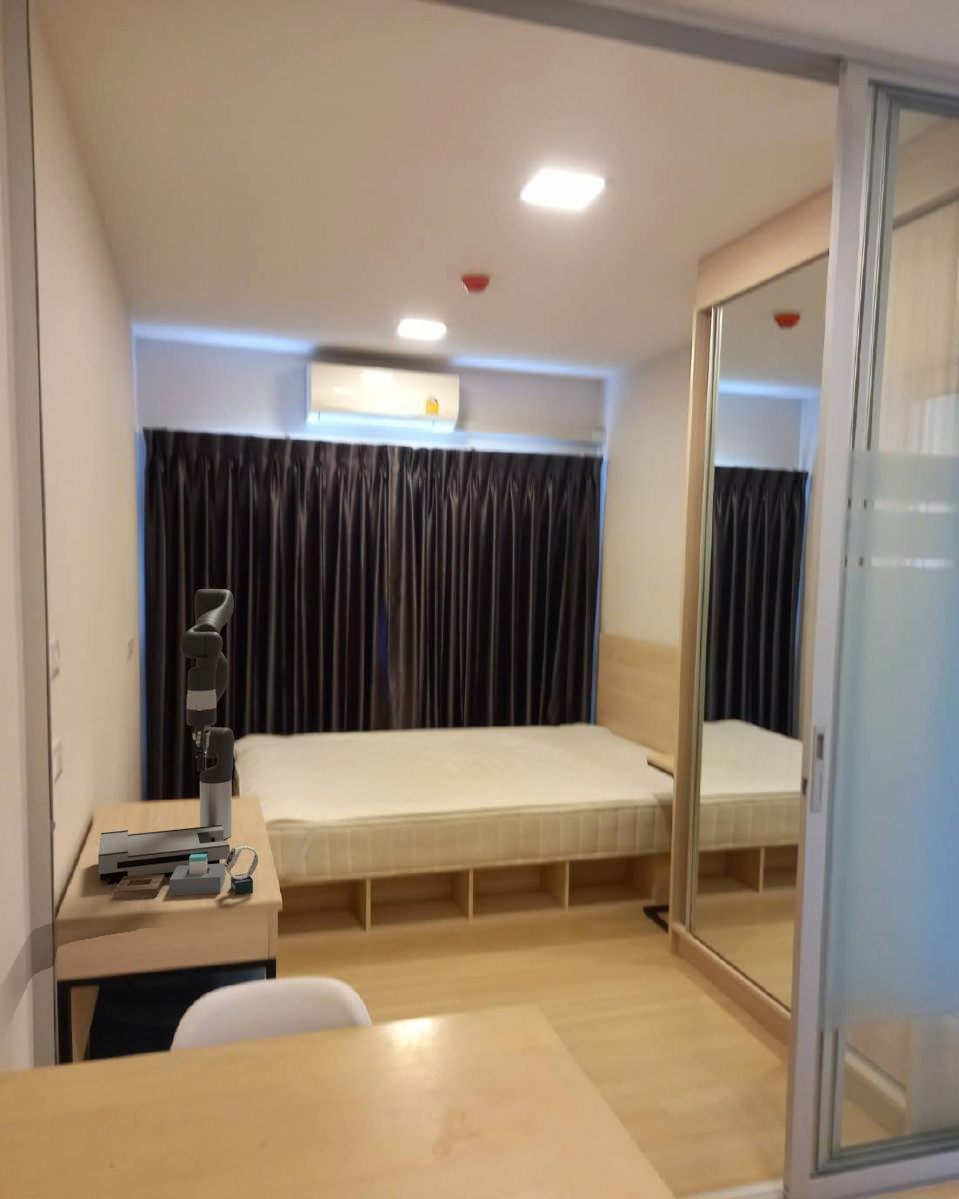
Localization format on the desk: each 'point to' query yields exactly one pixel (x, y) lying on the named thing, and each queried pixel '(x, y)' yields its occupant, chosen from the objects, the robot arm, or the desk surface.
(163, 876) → the brown flat square frame
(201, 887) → the port block
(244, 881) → the watch
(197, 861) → the plug
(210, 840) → the game console
